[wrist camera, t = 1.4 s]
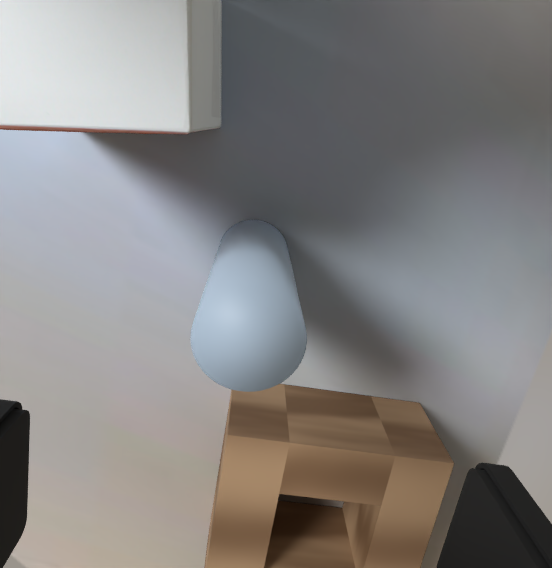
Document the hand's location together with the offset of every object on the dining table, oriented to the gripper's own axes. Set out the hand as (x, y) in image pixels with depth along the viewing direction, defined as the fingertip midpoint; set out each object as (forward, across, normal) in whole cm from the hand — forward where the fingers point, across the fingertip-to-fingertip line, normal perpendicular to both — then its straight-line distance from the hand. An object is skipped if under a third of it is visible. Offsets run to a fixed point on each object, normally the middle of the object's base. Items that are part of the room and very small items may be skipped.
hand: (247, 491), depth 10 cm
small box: (+19, +7, -9) cm, 23 cm away
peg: (+19, 0, 0) cm, 19 cm away
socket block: (+19, -6, +14) cm, 24 cm away
